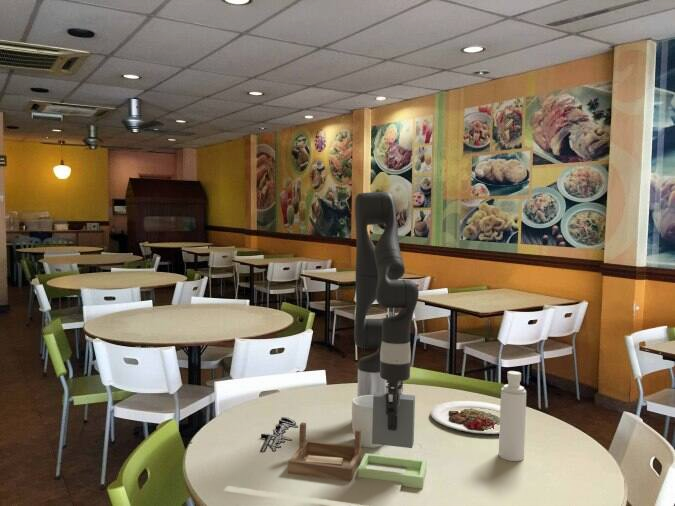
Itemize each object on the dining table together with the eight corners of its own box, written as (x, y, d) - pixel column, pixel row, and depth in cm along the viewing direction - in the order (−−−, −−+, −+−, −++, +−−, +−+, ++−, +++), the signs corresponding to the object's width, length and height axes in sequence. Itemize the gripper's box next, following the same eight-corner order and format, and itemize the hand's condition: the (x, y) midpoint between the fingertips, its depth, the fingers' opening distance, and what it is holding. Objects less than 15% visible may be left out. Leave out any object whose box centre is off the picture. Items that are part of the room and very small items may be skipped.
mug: (388, 434, 169) (389, 391, 168) (408, 447, 159) (409, 402, 158) (344, 441, 162) (345, 397, 161) (362, 456, 152) (363, 409, 152)
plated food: (490, 403, 201) (490, 393, 201) (545, 433, 173) (546, 422, 173) (415, 410, 192) (415, 400, 192) (460, 443, 164) (461, 432, 163)
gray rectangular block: (374, 437, 143) (375, 391, 143) (413, 442, 141) (415, 395, 140) (372, 443, 140) (373, 396, 139) (412, 448, 137) (413, 400, 137)
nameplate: (270, 416, 179) (301, 417, 178) (270, 421, 179) (301, 422, 178) (251, 451, 151) (288, 453, 151) (251, 456, 151) (288, 458, 151)
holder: (365, 463, 148) (365, 453, 147) (426, 471, 144) (426, 460, 144) (357, 480, 138) (357, 469, 138) (422, 488, 134) (423, 477, 134)
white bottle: (505, 462, 150) (508, 370, 149) (494, 451, 157) (497, 364, 156) (528, 460, 151) (532, 369, 150) (516, 450, 158) (520, 363, 157)
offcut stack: (306, 465, 144) (306, 453, 143) (344, 469, 141) (344, 458, 141) (301, 472, 139) (301, 460, 139) (340, 477, 137) (340, 465, 137)
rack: (304, 454, 152) (305, 418, 152) (362, 461, 149) (363, 424, 148) (288, 476, 139) (288, 437, 138) (351, 485, 135) (352, 444, 135)
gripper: (407, 367, 131) (405, 438, 132) (413, 354, 145) (411, 418, 146) (375, 364, 133) (373, 435, 134) (384, 352, 147) (383, 416, 148)
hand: (393, 426), depth 140 cm, fingers closed on gray rectangular block, 4 cm apart
